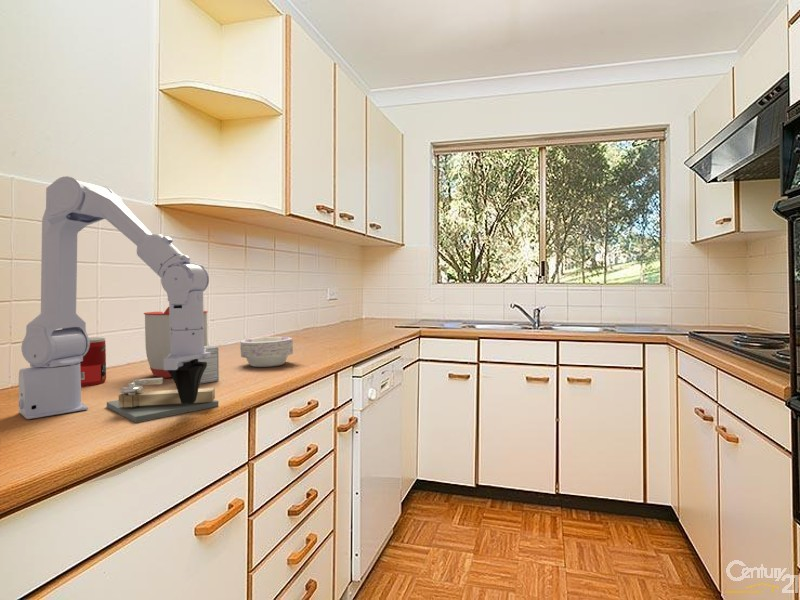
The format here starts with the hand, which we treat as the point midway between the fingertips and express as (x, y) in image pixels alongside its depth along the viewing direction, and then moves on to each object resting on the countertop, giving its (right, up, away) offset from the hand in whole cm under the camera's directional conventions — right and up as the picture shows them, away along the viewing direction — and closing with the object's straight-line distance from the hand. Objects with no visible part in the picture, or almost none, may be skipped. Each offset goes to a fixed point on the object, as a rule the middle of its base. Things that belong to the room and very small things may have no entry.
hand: (188, 402), depth 87 cm
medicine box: (-10, -2, +30) cm, 31 cm away
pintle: (-12, -2, +2) cm, 12 cm away
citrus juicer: (-22, -1, +41) cm, 46 cm away
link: (-5, -1, +3) cm, 6 cm away
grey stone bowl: (-1, -1, +55) cm, 55 cm away
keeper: (-12, -2, +8) cm, 14 cm away
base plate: (-8, -2, +6) cm, 10 cm away
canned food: (-38, -2, +29) cm, 48 cm away
